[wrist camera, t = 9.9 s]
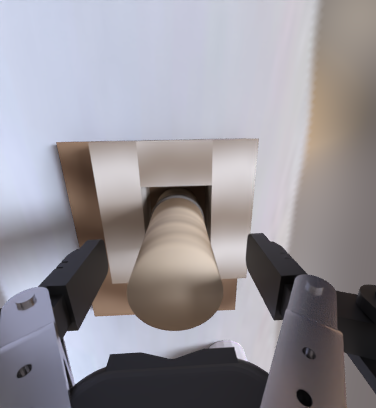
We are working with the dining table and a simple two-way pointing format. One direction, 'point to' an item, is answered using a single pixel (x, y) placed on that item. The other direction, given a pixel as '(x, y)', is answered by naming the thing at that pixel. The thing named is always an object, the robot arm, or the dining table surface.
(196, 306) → the peg
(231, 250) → the socket board
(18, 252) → the dining table surface
